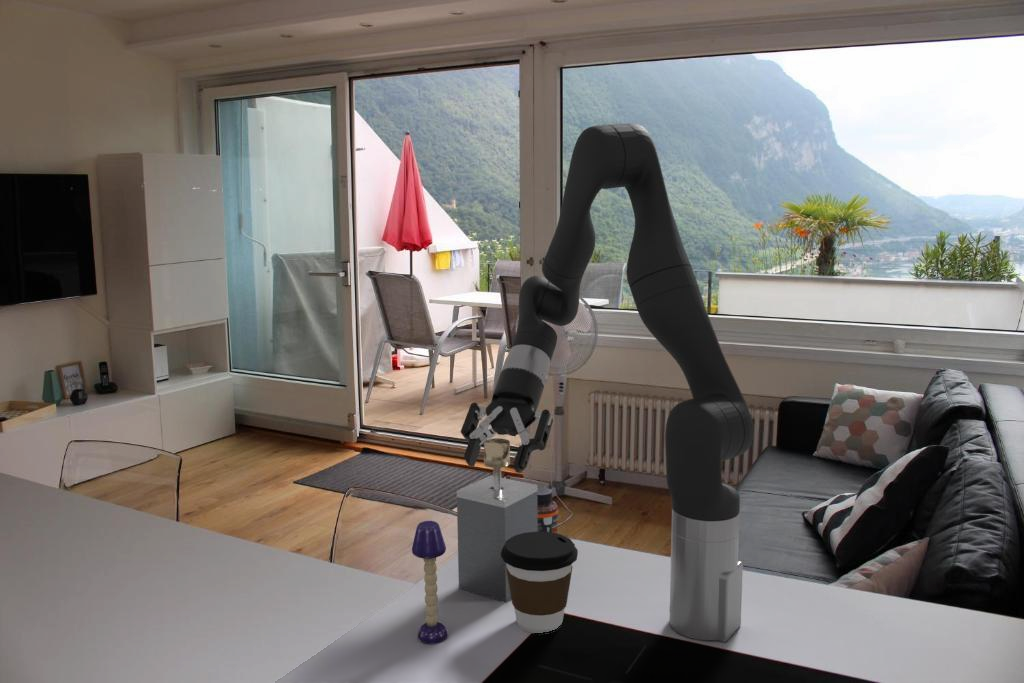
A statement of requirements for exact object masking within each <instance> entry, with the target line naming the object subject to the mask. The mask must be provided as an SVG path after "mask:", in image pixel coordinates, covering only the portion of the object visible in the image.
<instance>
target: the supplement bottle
mask: <svg viewBox="0 0 1024 683" xmlns="http://www.w3.org/2000/svg"><path fill="white" fill-rule="evenodd" d="M537 509H538V532H551V533H556V534H559V530H558V529H559V525H558V524H559V521H558V520H559V517H558V516H559V513H558V512H559V507H558V504H557V503H556V502H555V501H554V500H553V490H552V489H550V488H549V487H537Z"/></svg>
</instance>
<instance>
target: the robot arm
mask: <svg viewBox="0 0 1024 683" xmlns="http://www.w3.org/2000/svg"><path fill="white" fill-rule="evenodd" d="M566 178H567V179H566V181H565V187H564V191H563V192H564V193H563V197H562V202H561V208H560V213H559V218H558V221H557V225H556V229H555V231H554V234H553V236H552V239H551V241H550V244H549V247H548V249H547V252H546V254H545V257H544V259H543V262H542V265H541V271H542V275H543V276H542V275H533V276H530V277H528V278H527V279H526V280H524V282H523V283H522V285H521V287H520V289H519V294H518V322H517V329H516V332H515V335H514V338H513V341H512V344H511V346H510V349H509V352H508V354H507V355H506V358H505V360H504V361H503V365H502V368H501V371H500V374H499V376H498V378H497V382H496V384H495V387H494V390H493V393H492V397H491V398H492V399H491V401H490V402H489V404H488V405H487V406H484V405H483V406H481V405H479V404H478V403H477V402H472V403H471V404H470V406H469V408H468V410H467V414H466V416H465V420H463V423H462V424H463V425H462V427H461V430H460V433H461V435H462V437H463V439H464V440H465V441H466V442H467V447H466V449H465V452H464V456H463V458H464V459H465V462H466V464H467V465H468V467H475V465H476V462H477V459H478V457H479V454H480V451H481V448H482V447H481V446H482V445H483V444H484V441H485V440H488V439H493V437H495V436H496V435H500V436H502V435H503V436H504V435H508V436H511V437H516V436H519V438H520V441H521V445H519V446H518V448H517V449H518V450H517V452H516V456H515V458H514V461H513V464H512V467H513V469H514V471H515V473H519V474H521V473H522V472H523V470H526V468H528V463H529V460H530V457H531V454H532V453H533V452H534V451H536V450H539V451H544V450H545V449H546V447H547V442H548V439H549V436H550V433H551V429H552V426H553V423H554V419H553V415H552V414H551V412H550V410H549V409H543V410H542V411H537V410H538V407H539V404H540V401H541V400H542V399H541V398H542V395H543V391H544V389H545V386H546V384H547V381H548V377H549V376H548V375H549V373H550V372H549V371H550V366H551V362H552V359H553V355H554V352H555V349H556V345H557V342H558V334H557V332H556V330H555V329H554V328H553V327H552V326H551V325H549V324H552V325H555V326H558V327H565V326H567V325H569V324H571V323H572V322H573V321H574V320H575V318H576V317H577V315H578V311H579V306H580V292H581V290H580V288H581V284H582V283H581V282H582V281H583V280H582V279H583V277H584V275H585V273H586V272H585V271H586V270H587V267H588V265H589V264H590V261H591V259H592V257H593V255H594V252H595V247H596V232H595V228H594V227H595V226H594V223H593V219H592V217H591V216H592V215H591V207H592V204H593V203H594V201H595V199H596V197H597V196H598V194H599V193H600V191H601V190H610V189H616V188H625V190H626V192H627V193H628V194H627V195H628V198H629V200H630V203H631V206H632V207H631V208H632V212H633V215H634V230H633V231H634V232H633V235H632V240H631V244H630V248H629V252H628V258H627V264H626V279H627V283H628V284H627V285H628V286H629V289H630V292H631V295H632V298H633V301H634V304H635V306H636V309H637V310H636V311H637V312H638V315H639V318H640V319H641V321H642V323H643V324H644V326H645V327H646V328H647V329H648V331H649V332H650V334H652V337H654V338H655V340H656V341H658V343H660V345H661V346H662V347H663V348H664V349H665V350H666V351H667V352H668V353H669V355H671V357H672V358H673V359H674V360H675V361H676V363H677V364H678V366H679V368H680V369H681V371H682V373H683V375H684V377H685V379H686V382H687V384H688V387H689V389H690V390H689V391H690V393H691V396H692V398H690V399H687V400H684V401H680V402H679V403H677V404H676V405H674V407H673V408H672V409H671V410H670V412H669V413H668V417H667V419H666V425H665V431H664V432H665V435H664V438H665V441H664V443H665V444H664V445H665V470H666V471H665V472H666V474H665V475H666V486H667V489H668V492H669V494H670V497H671V531H670V532H671V533H670V534H671V535H670V537H671V539H670V540H671V541H670V575H669V576H670V577H669V578H670V579H669V580H670V582H669V583H670V584H669V585H670V586H669V587H670V588H669V591H670V592H669V625H670V627H671V628H672V629H673V630H674V631H675V632H677V633H678V634H680V635H683V636H684V637H687V638H691V639H693V640H694V639H695V640H698V641H699V640H700V641H720V642H724V643H726V642H728V640H729V639H730V638H731V637H732V635H733V634H734V633H735V632H736V631H737V630H738V628H740V626H741V625H742V600H743V599H742V596H743V574H744V573H743V567H744V563H743V561H741V560H739V537H740V536H739V534H740V513H741V512H740V509H741V508H740V507H741V498H740V494H739V493H740V492H739V491H738V490H737V489H735V487H733V486H731V485H729V484H727V483H723V479H722V478H723V476H722V462H725V461H727V460H731V459H734V458H737V457H739V456H741V455H744V453H746V452H747V451H748V450H749V449H750V447H751V445H752V442H753V440H754V432H755V431H754V423H753V418H752V414H751V411H750V409H749V406H748V403H747V402H746V400H745V397H744V394H743V393H742V391H741V389H740V387H739V384H738V382H737V381H736V378H735V376H734V375H733V373H732V371H731V368H730V366H729V364H728V362H727V359H726V357H725V355H724V353H723V350H722V348H721V345H720V342H719V339H718V336H717V335H716V334H717V333H716V332H715V329H714V327H713V326H714V325H713V324H712V321H711V319H710V316H709V314H708V311H707V309H706V306H705V303H704V299H703V296H702V293H701V289H700V287H699V284H698V283H699V282H698V280H697V278H696V275H695V273H694V272H695V271H694V270H693V267H692V264H691V262H690V259H689V257H688V255H687V252H686V250H685V247H684V244H683V241H682V237H681V234H680V233H679V232H680V231H679V229H678V226H677V223H676V222H677V221H676V218H675V217H674V213H673V210H672V207H671V204H670V199H669V196H668V195H669V194H668V192H667V187H666V183H665V179H664V175H663V172H662V167H661V163H660V159H659V156H658V152H657V148H656V146H655V143H654V141H653V139H652V137H651V135H650V133H649V132H648V130H647V129H646V128H645V127H644V126H642V125H641V124H637V123H631V122H629V123H610V124H608V123H607V124H599V125H598V124H597V125H592V126H589V127H587V128H584V130H583V131H581V133H580V134H579V136H578V138H577V140H576V142H575V144H574V146H573V150H572V154H571V158H570V164H569V167H568V173H567V177H566ZM484 416H486V417H485V418H484ZM483 418H484V419H483ZM480 421H481V422H480ZM535 421H536V422H537V428H536V431H535V434H534V438H531V436H530V434H529V431H528V429H527V428H529V427H530V426H531V425H532V424H533V423H534V422H535ZM490 426H491V427H490ZM489 427H490V428H489Z"/></svg>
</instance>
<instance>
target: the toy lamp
mask: <svg viewBox="0 0 1024 683" xmlns="http://www.w3.org/2000/svg"><path fill="white" fill-rule="evenodd" d="M445 552H447V547H446V542H445V539H444V536H443V533H442V529H441V527H440V524H439V523H438V522H437V521H434V520H426V521H425V520H424V521H422V522H418V524H417V525H416V529H415V533H414V538H413V542H412V547H411V553H412V554H413V556H414V557H416V558H420V559H423V562H424V564H423V571H424V575H423V576H424V579H423V580H424V583H425V584H424V592H425V596H424V602H425V608H424V610H425V614H426V616H425V623H423V624H422V625H420V627H419V629H418V631H417V639H418V640H419V642H422V643H423V644H429V645H430V644H431V645H432V644H440V643H441V642H444V641H446V640H447V638H448V637H449V632H448V628H447V627H446V625H444V624H443V623H442V622H441V621H439V615H438V611H439V606H438V599H439V598H438V593H437V592H438V589H439V588H438V583H437V581H438V574H437V573H436V572H437V569H438V568H437V567H438V566H437V563H436V561H437V558H439V557H442V556H443V555H445Z"/></svg>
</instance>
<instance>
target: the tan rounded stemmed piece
mask: <svg viewBox="0 0 1024 683" xmlns="http://www.w3.org/2000/svg"><path fill="white" fill-rule="evenodd" d="M510 444H511V442H510V440H508V439H506V438H497V437H496V438H491V439H487V440H485V441H484V443H483V464H484V466H485V467H487V468H492V470H493V471H492V474H493V475H492V476H493V483H494V490H498V491H500V490H501V478H502V468H506V467H508V466H510V464H511V449H510V448H511V445H510Z"/></svg>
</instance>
